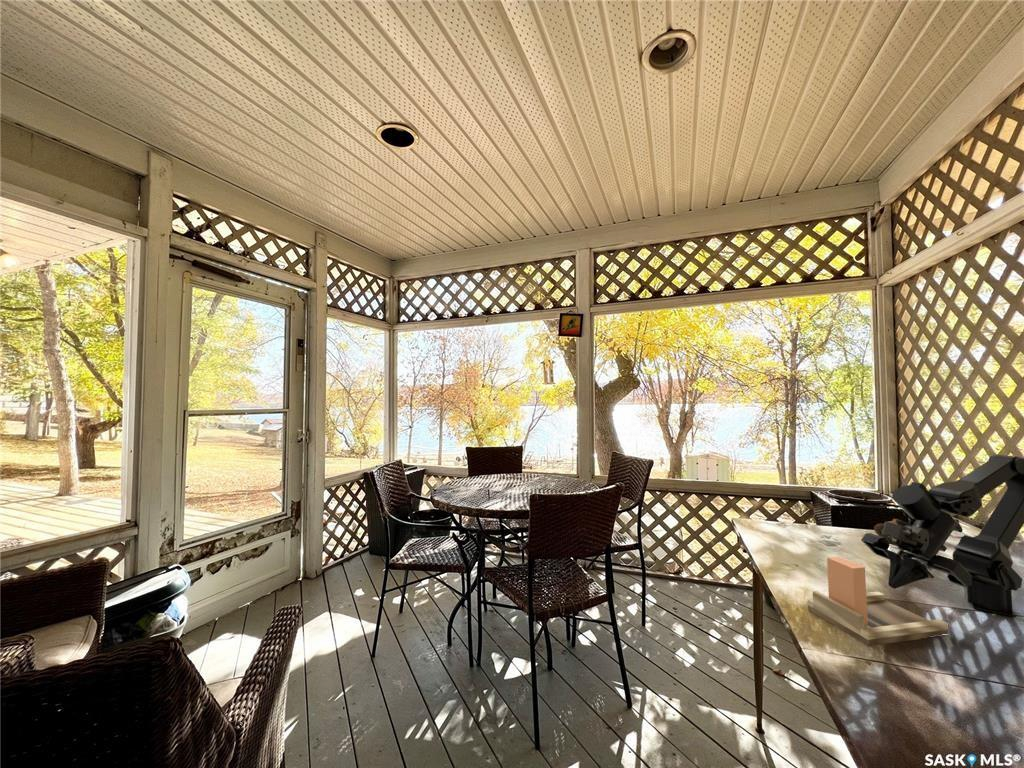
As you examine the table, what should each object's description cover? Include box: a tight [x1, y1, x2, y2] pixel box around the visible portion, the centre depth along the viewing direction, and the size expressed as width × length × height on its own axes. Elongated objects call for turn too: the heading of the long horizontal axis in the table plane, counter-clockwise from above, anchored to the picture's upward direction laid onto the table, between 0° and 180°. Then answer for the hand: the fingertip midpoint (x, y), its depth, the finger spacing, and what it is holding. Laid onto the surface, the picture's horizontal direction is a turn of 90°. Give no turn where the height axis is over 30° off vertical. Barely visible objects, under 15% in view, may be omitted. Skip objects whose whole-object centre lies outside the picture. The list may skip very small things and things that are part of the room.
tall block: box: [826, 556, 868, 625], centre depth 89 cm, size 3×6×12 cm, turn 9°
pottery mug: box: [873, 518, 912, 540], centre depth 137 cm, size 12×10×8 cm
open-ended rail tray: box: [807, 590, 949, 647], centre depth 90 cm, size 20×14×5 cm
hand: (891, 586), depth 91 cm, fingers closed
